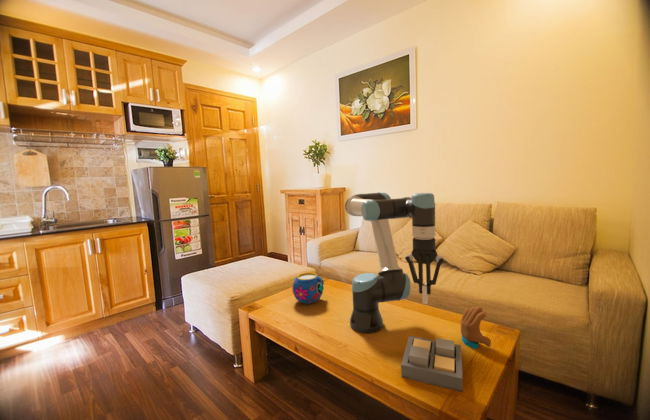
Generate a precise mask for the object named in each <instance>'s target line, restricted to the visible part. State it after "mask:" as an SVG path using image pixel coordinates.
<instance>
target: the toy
mask: <svg viewBox="0 0 650 420" xmlns="http://www.w3.org/2000/svg"><path fill="white" fill-rule="evenodd" d="M486 317H487V315H486V313H485V312H483V308H482V307H481V306H477V307H476V306H473V307H471V308H466V309H465V310H464V311H463V315H462V316H461V319H460V334H461V341H462V343H463V344H464V345H465V346H467V347H468V348H471V349H475V350H477V349H479V348H480V347H479V346H480V345H479V344H483V345H485V347H488V348H490V347H491V346H492V345H491V344H492V341H491V339H490V338H489V337H488V336H485V335H483V334H482V332H481V330H480V329H481V328H480V326H481V325H480V324H481V322H482V320H483V319H485V318H486Z"/></svg>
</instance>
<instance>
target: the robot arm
mask: <svg viewBox="0 0 650 420" xmlns="http://www.w3.org/2000/svg"><path fill="white" fill-rule="evenodd" d="M344 209H345V211H346V213H347V214H348V215H350V216H353V217H362V218H363V219H364V221H369V222H370V223H371V226H372V227H371V228H372V232H373V236H374V237H373V238H374V242H375V247H376V254H377V257H378V262H379V271H378V272H377V273H374V272H373V273H372V272H365V273H364V272H363V273H361V274H357V275H356V276H355V277H353V278H352V282H351V290H352V313H351V316H350V319H349V324H350V325H349V326H350V329H352V330H353V331H356V332H358V333H361V334H374V333H377V332H380V331H381V330H382V329H383V327H384V320H383V317H382V314H381V312H380V309H379V303H380V304H381V303H388V302H395V301H398V302H399V301H402V300H406V299H407V298H409V296H410V294H411V291H412V290H411V289H412V287H411V286H412V285H411V279H410V276H409V274H407V273H405V272H404V271H403V268H402V267H400V266H399V263H398V258H397V252H396V249H395V248H396V247H395V243H394V240H393V234H392V231H391V230H392V229H391V225H390V221H389V220H394V219H411V225H412V226H411V227H412V230H411V231H412V232H411V233H412V237H413V238H412V251H411V253H410V254H407V255H406V256H405V259H404V260H405V261H406V262H407V263H408V267H409V270H410V274H411V277H412V281H413V283H414V284H418V292H419V293H418V294H421V295H422V298H421V299H422V304H423V305H428V300H429V299H428V298H429V296H428V295H431V292H432V286H435V285H437V281H438V276H439V272H440V269H441V266H442V264H443V263H444V260H445V257H443V256H440V255H438V253H437V249H436V248H437V246H436V238H435V237H436V203H435V195H434V193H431V192H419V193H417V192H416V193H413V194H412V195H411V197H410V196H407V197H406V196H405V197H401V198H391V196H390V195H389V194H388V193H386V192H372V193H358V194H354V195H352V196H350V197H349V198H347V199H346V200H345V203H344ZM413 258H414V259H413ZM414 260H415V261H416V262H417V267H418V274H417V272H416V268H415V264H414ZM434 260H435V261H436V264H435V265H436V266H435V270H434V273H433V277H431V275H432V274H431V272H432V271H431V264H432V263H433V261H434ZM424 264H425V273H426V274H425V275H426V277H425V280H426V282H425V283H424V269H423V268H424ZM431 278H432V279H431Z"/></svg>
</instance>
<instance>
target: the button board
mask: <svg viewBox="0 0 650 420" xmlns="http://www.w3.org/2000/svg"><path fill="white" fill-rule="evenodd" d="M414 338H415V339H420V340H426V341H431V353H429V366H428V367H424V366H420V365H415V364H411V363H409V353H410V349H411V345H412V346H413V342H414ZM404 350H405V351H404V352H403V357H402V361H401V364H400V365H401V366H400V367H401V368H400V370H401V378H404V379H408V380H411V381H415V382H420V383H424V384H428V385H432V386H436V387H440V388H444V389H448V390H452V391H456V392H461V393H463V389H464V387H463V383H464V382H463V380H464V379H463V378H464V377H463V363H462V362H463V359H462V355H463V354H462V345H461V344H457V343H454V358H452V359H454V373H451V372H447V371H442V370H438V369H434V363H435V355H437V354H436V339H435V340H434V339H429V338H424V337H417V336H413V335H408V340H407V343H406V346H405V349H404ZM437 356H442V355H437ZM442 357H447V356H442ZM447 358H451V357H447Z"/></svg>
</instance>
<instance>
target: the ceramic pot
mask: <svg viewBox="0 0 650 420" xmlns="http://www.w3.org/2000/svg"><path fill="white" fill-rule="evenodd" d="M292 282H293V283H292V287H291V289H292V293H293V295H294V298H295V300H297V301H298V302H300V303H301V304H312V303H315V302H317V301H318V300H320V299H321V297H322V295H323V293H324V289H325V288H324V283H325V282H324V278H322V277H321V276H319V275H318V274H317V273H314V272H304V273H300V274H298V275H297V276H296V277H295V279H294V280H293V281H292Z"/></svg>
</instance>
